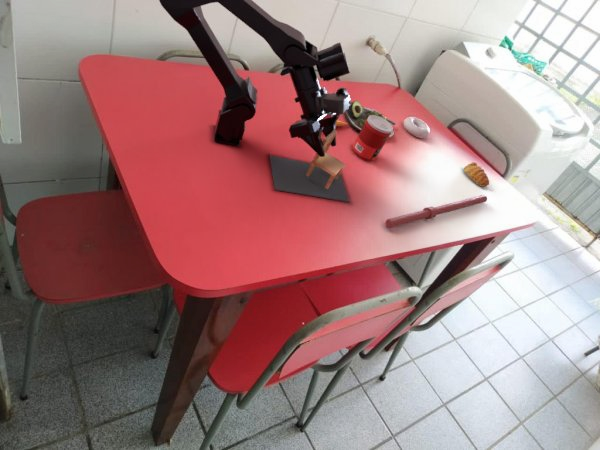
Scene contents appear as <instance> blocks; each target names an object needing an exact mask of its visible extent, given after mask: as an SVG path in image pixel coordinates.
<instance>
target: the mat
mask: <svg viewBox="0 0 600 450" xmlns="http://www.w3.org/2000/svg"><path fill="white" fill-rule="evenodd" d="M268 158H269V163H270V169H271V175H272V182H273V187H274V191H277V192H284V193H291V194H294V195H295V194H296V195H303V196H308V197H315V198H321V199H326V200H332V201H337V202H344V203H350V202H351V201H350V199H349V195H348V192H347V189H346V186H345V183H344V180H343V177H342V174H341V173H340V175H339V177H338V178H337V179H333V181H332V183H331V185H330V187H329V188H328V189H326V188H325V186H326V184H327V182H328V180H329V178H330V176H331V174H329V173H328V172H326V171H325V170H323V169H322V168H320V167H319V168H318V167H316V165H315V167H314V169H313V171H312V173H311V175H310V176H309V177H308V176H307V175H306V174H307V172H308V170H309V167H310V165H311V163H312V162H308V161H307V162H306V161H303V160H297V159H291V158H287V157H281V156H277V155H271V154H269V155H268Z"/></svg>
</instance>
